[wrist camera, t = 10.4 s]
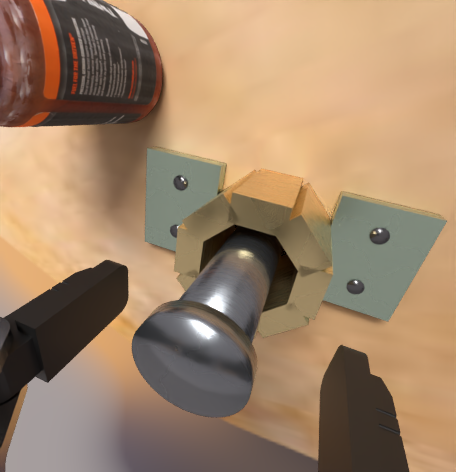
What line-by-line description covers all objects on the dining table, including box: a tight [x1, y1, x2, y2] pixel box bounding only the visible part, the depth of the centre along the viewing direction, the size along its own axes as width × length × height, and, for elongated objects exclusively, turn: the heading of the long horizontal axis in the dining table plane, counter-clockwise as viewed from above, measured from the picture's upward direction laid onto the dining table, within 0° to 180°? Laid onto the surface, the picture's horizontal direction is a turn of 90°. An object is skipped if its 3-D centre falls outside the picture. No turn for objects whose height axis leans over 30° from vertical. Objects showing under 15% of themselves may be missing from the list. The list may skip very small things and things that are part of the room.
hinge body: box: [145, 147, 447, 338], centre depth 15 cm, size 7×18×6 cm, turn 80°
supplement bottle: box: [0, 0, 162, 127], centre depth 12 cm, size 6×6×11 cm
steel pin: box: [132, 226, 283, 417], centre depth 13 cm, size 4×4×12 cm
